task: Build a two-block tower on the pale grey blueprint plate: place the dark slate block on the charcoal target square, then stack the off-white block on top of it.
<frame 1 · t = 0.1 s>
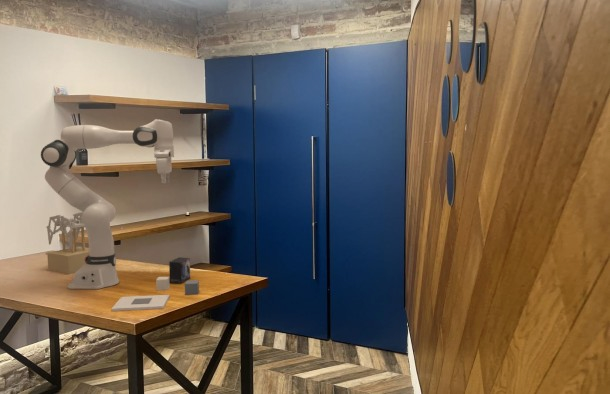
hand: (165, 182, 234), 48 cm above the table, tool pointing down, fingers open, 8 cm apart
small box: (180, 281, 239), on the table
blueprint plate: (141, 303, 203), on the table
kinetic sculpture: (74, 269, 267), on the table
off-white block: (163, 288, 226), on the table
slate block: (192, 293, 218), on the table
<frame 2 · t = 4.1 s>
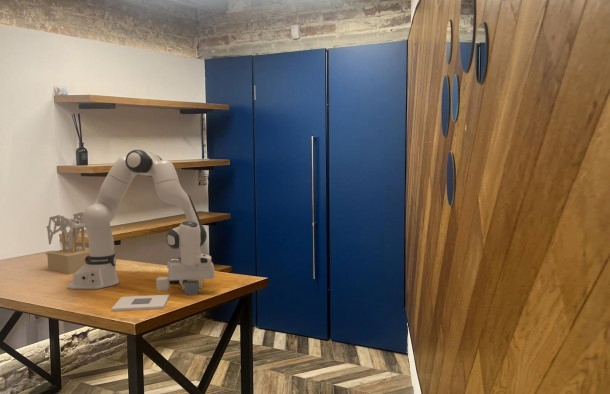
hand: (192, 289, 218), 2 cm above the table, tool pointing down, fingers closed on slate block, 5 cm apart
slate block: (192, 292, 218), on the table, touching gripper
everything else where it was.
when the fingers open (4 cm above the table, at t = 12.1 s): slate block drops 1 cm, resting on blueprint plate.
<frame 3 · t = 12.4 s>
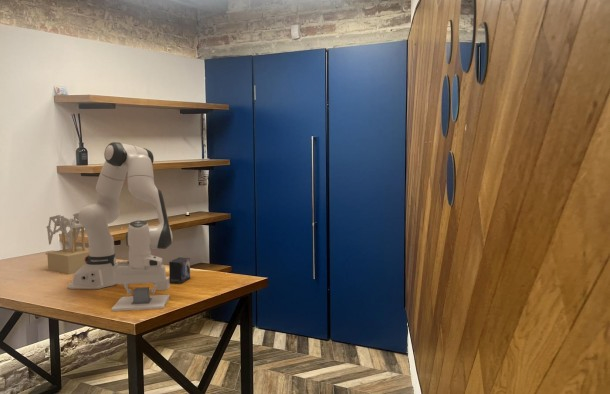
hand: (141, 293, 203), 4 cm above the table, tool pointing down, fingers open, 8 cm apart
slate block: (141, 300, 203), point 1 cm above the table, touching blueprint plate
everything else where it was.
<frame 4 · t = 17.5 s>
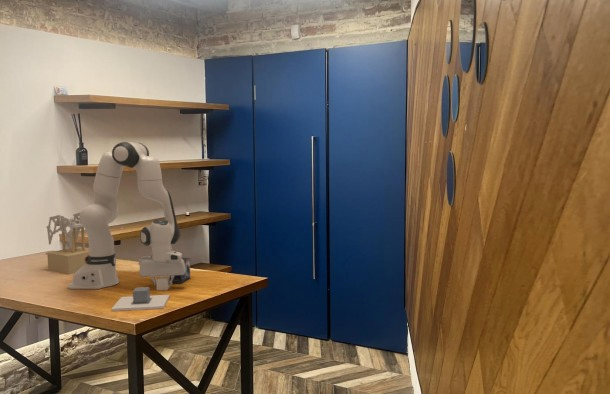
hand: (163, 285, 225), 2 cm above the table, tool pointing down, fingers closed on off-white block, 5 cm apart
off-white block: (163, 288, 226), on the table, touching gripper
everything else where it was.
when the fingers open (9 cm above the table, at t = 24.9 s): off-white block drops 1 cm, resting on slate block.
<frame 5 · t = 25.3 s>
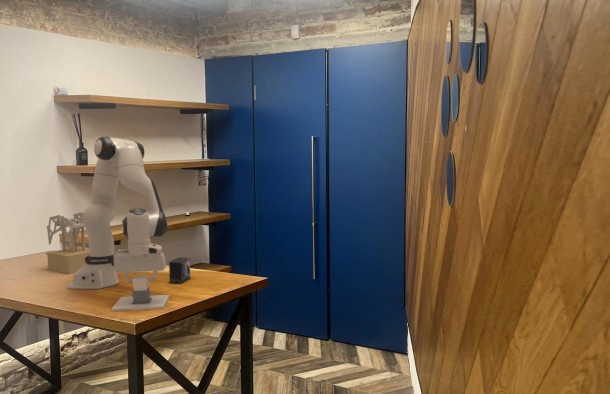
hand: (140, 281, 202), 9 cm above the table, tool pointing down, fingers open, 8 cm apart
off-white block: (141, 289, 203), point 6 cm above the table, touching slate block
slate block: (141, 300, 203), point 1 cm above the table, touching blueprint plate, off-white block
everything else where it was.
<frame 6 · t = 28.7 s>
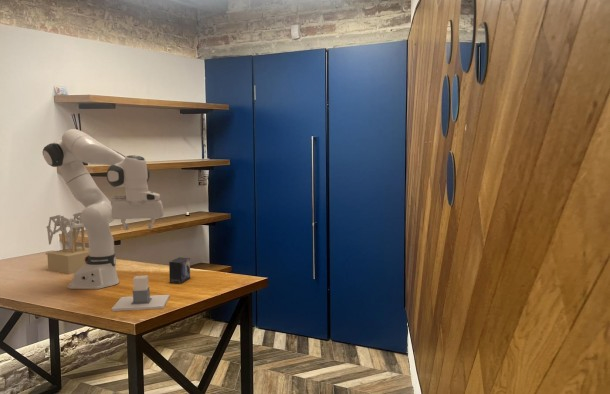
hand: (138, 229, 200), 31 cm above the table, tool pointing down, fingers open, 8 cm apart
nothing on the table moved.
at the end: slate block 0.0 cm off-centre on the blueprint plate, point 1.2 cm above the blueprint plate's base; off-white block 0.1 cm off-centre on the blueprint plate, point 6.2 cm above the blueprint plate's base; off-white block tilted 0° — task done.
